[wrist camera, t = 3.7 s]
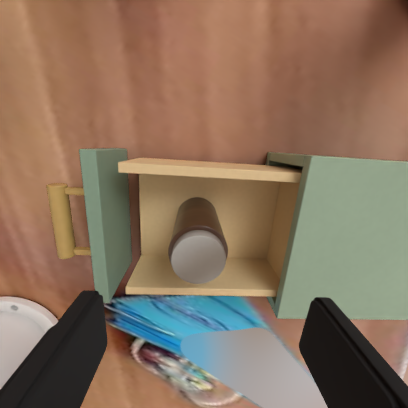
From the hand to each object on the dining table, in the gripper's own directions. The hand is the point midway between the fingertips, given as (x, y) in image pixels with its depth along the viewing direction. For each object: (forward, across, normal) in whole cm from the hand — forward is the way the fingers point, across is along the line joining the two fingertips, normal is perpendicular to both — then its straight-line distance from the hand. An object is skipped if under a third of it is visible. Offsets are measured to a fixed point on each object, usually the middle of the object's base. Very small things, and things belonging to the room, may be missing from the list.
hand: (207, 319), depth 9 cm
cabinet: (+16, -17, 0) cm, 24 cm away
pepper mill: (+14, 0, 0) cm, 14 cm away
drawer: (+15, +2, 0) cm, 15 cm away
